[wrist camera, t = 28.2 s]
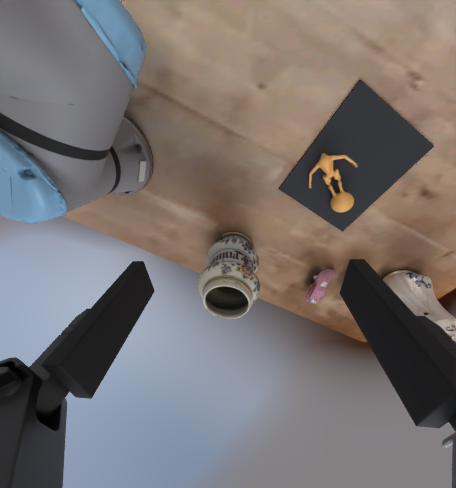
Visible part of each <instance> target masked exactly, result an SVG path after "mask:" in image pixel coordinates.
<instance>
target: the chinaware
mask: <svg viewBox="0 0 456 488" xmlns="http://www.w3.org/2000/svg"><path fill="white" fill-rule="evenodd" d="M382 279H383V281H384V282H385V283H386V284H387V285H388V286H389V287H390V288H391V289H392V290H393V291H394V293H395V294H396V295H397V296H398V297H399V298H400V299H401V300H402V301H403V302H404V303H405V304H406V306H407V307H408V308H409V309H410V310H411V311H412V312H413V313H414V314H415V315H416V316H426V317H427V318H429V319H430V320H432V321H433V322H434V323H436V324H437V325H439V326H440V327H441V328H442V329H443V330H444V331H445V332H446V333H447V334H448V335H449V336H450V337H451V338H452V340H453V341H455V342H456V318H455V317H453V316H452V315H451V314H449V313H448V312H447V311H446V310H445V309H444V308H443V307H442V306H441V305H440V303H439V302H438V300H437V299H436V297H435V295H434V292H433V286H432V281H431V279H430V278H429V277H427V276H424V275H419V274H416V273H413V272H412V271H409V270H398V271H394V272H391V273H389V274H387V275H386V276H384V277H383V278H382Z"/></svg>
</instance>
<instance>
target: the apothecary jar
mask: <svg viewBox="0 0 456 488" xmlns="http://www.w3.org/2000/svg"><path fill="white" fill-rule="evenodd" d="M206 263H207V268H206V269H205V270H204V271H203V272H202V273H201V275H200V277H199V281H198V289H199V293H200V295H201V297H202V298H203V304H204V306H205V308H206V309H207V310H208V311H209V312H210V313H211V314H213V315H215V316H217V317H220V318H224V319H234V318H238V317H241V316H243V315H244V314H246V313H247V312H248V310H249V309H250V306H251V305H252V304H253V303H254V302H255V301H256V299H257V298H258V295H259V292H260V285H259V281H258V278H257V276H256V275H255V273H256V271H257V269H258V265H259V259H258V255H257V253H256V251H255V249H254V248H253V244H252V242H251V240H250V239H249V238H248V237H247V236H245V235H243V234H241V233H238V232H229V233H225V234H223V235H222V236H221V238H220V240H218V241H216V243H215V244H214V245H213V246H212V247H211V248H210V249H209V251H208V253H207V258H206Z"/></svg>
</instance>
